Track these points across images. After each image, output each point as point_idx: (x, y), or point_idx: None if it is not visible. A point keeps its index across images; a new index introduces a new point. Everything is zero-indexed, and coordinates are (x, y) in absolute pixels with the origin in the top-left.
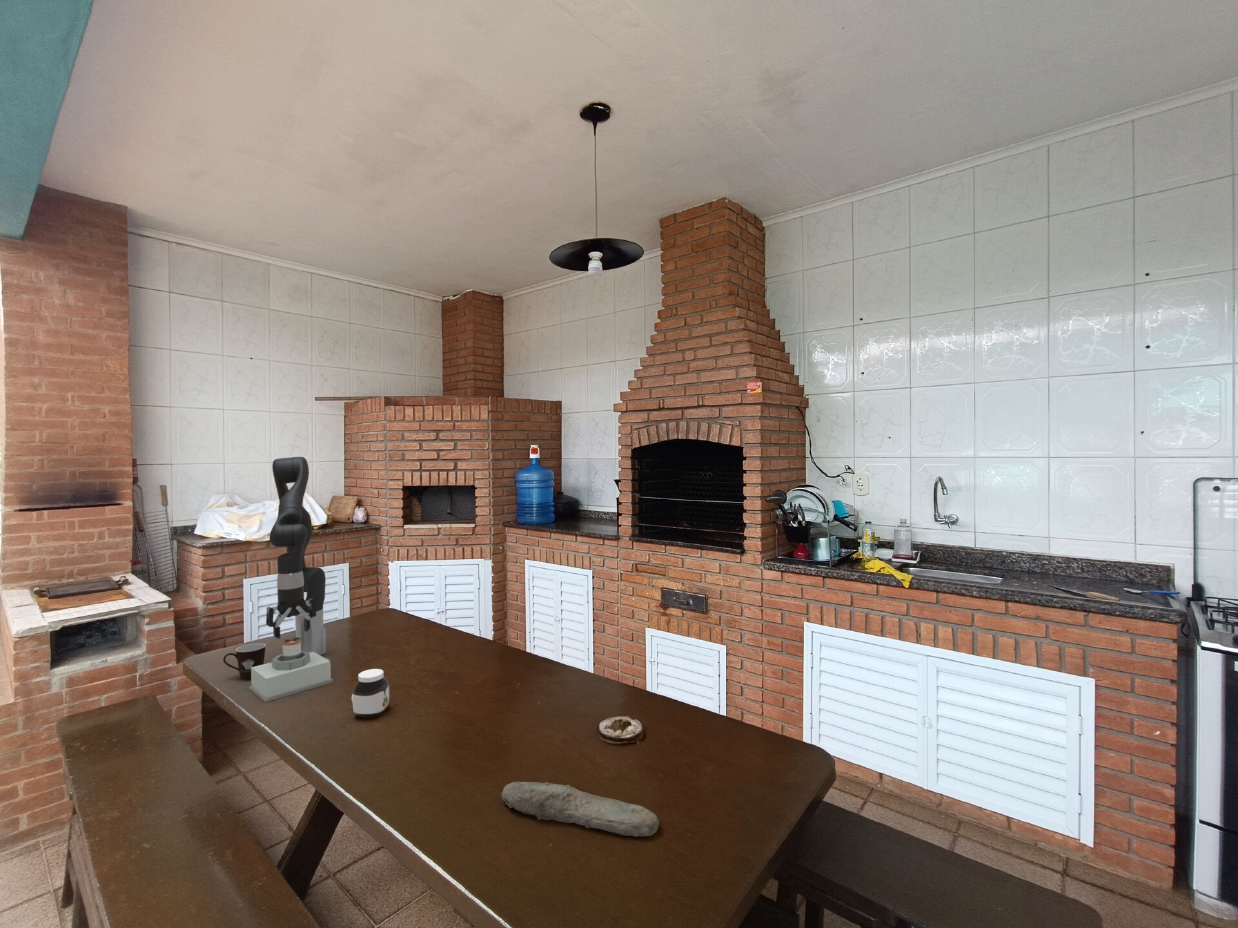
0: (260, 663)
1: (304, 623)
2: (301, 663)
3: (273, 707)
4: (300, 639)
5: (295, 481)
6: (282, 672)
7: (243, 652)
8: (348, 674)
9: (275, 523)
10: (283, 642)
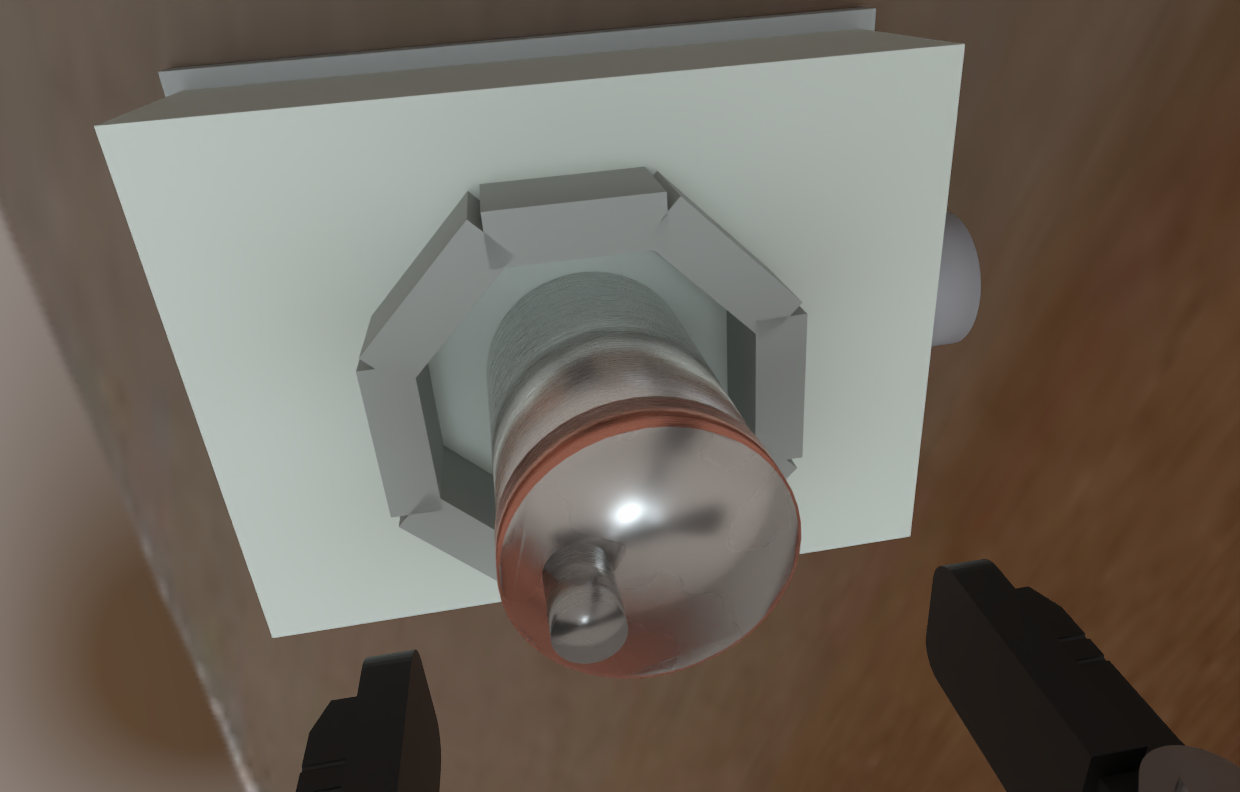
0: None
1: (1020, 722)
2: None
3: (350, 634)
4: (768, 607)
5: None
6: (444, 563)
7: None
8: (998, 352)
9: None
10: (504, 600)
